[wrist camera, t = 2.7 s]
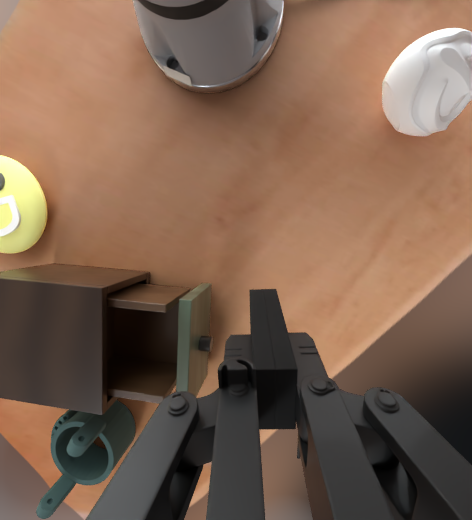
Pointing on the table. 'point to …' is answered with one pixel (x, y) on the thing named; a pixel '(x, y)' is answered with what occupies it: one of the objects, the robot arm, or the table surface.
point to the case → (58, 334)
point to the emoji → (20, 207)
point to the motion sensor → (429, 83)
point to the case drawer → (157, 340)
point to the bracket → (86, 450)
